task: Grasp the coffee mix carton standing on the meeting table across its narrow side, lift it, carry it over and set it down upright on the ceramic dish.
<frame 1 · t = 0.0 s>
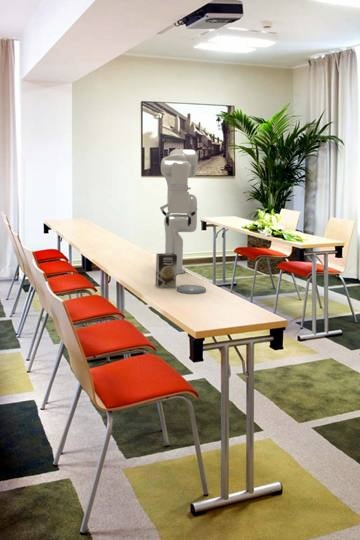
hand: (178, 225, 287), 31 cm above the table, fingers open, 9 cm apart
dish: (191, 290, 294), on the table
coffee box: (165, 286, 301), on the table
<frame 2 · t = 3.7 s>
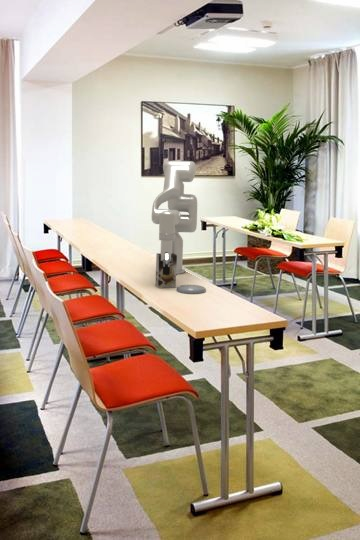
hand: (166, 272, 300), 7 cm above the table, fingers closed on coffee box, 7 cm apart
coffee box: (165, 286, 301), on the table, touching gripper
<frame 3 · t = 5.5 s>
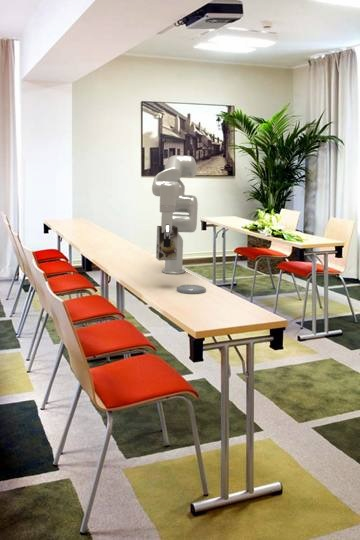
hand: (166, 245, 298), 20 cm above the table, fingers closed on coffee box, 7 cm apart
coffee box: (166, 259, 300), point 13 cm above the table, touching gripper
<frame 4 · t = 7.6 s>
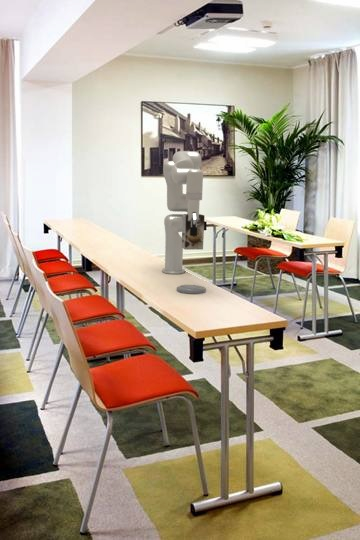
hand: (192, 234, 289), 27 cm above the table, fingers closed on coffee box, 7 cm apart
coffee box: (192, 249, 290), point 20 cm above the table, touching gripper
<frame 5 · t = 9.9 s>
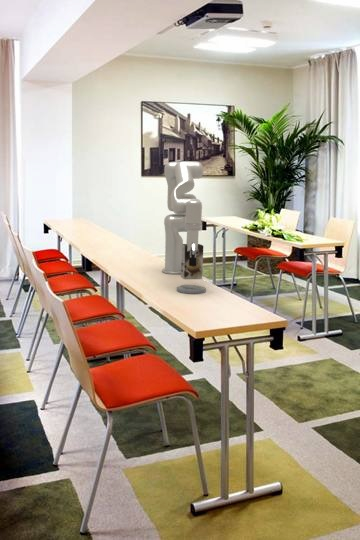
hand: (192, 263, 292), 13 cm above the table, fingers closed on coffee box, 7 cm apart
coffee box: (191, 278, 293), point 6 cm above the table, touching gripper
when the fingers open (10 cm above the table, at t = 11.6 s): coffee box drops 2 cm, resting on dish.
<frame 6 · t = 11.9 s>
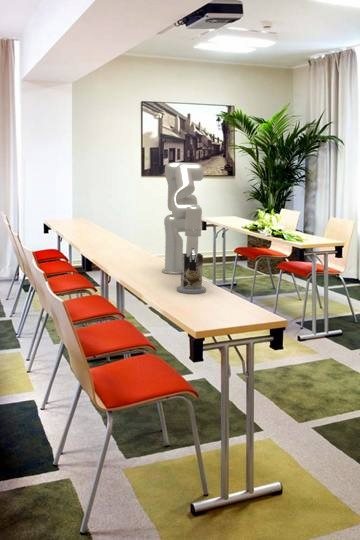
hand: (191, 268, 292), 11 cm above the table, fingers open, 9 cm apart
coffee box: (191, 287, 294), point 1 cm above the table, touching dish
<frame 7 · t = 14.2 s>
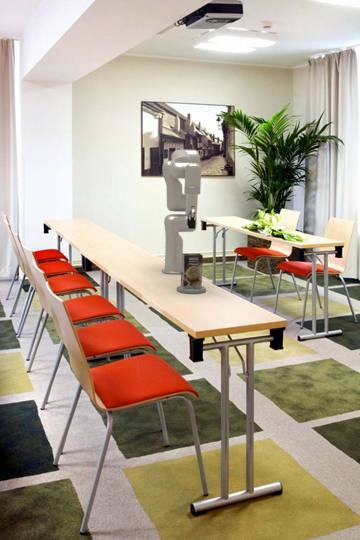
hand: (191, 227, 290), 30 cm above the table, fingers open, 9 cm apart
nothing on the table moved.
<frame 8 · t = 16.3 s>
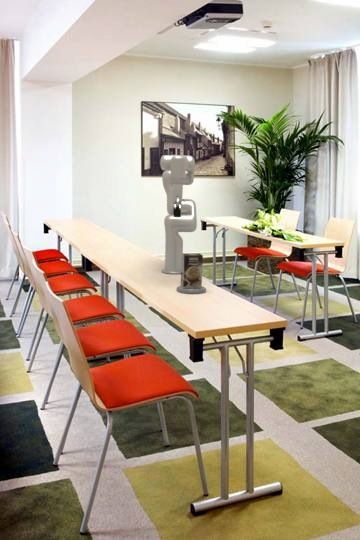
hand: (176, 216, 306), 33 cm above the table, fingers open, 9 cm apart
nothing on the table moved.
at the end: coffee box 0.4 cm off-centre on the dish, point 1.3 cm above the dish's base; coffee box tilted 0°; the gripper is holding nothing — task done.
